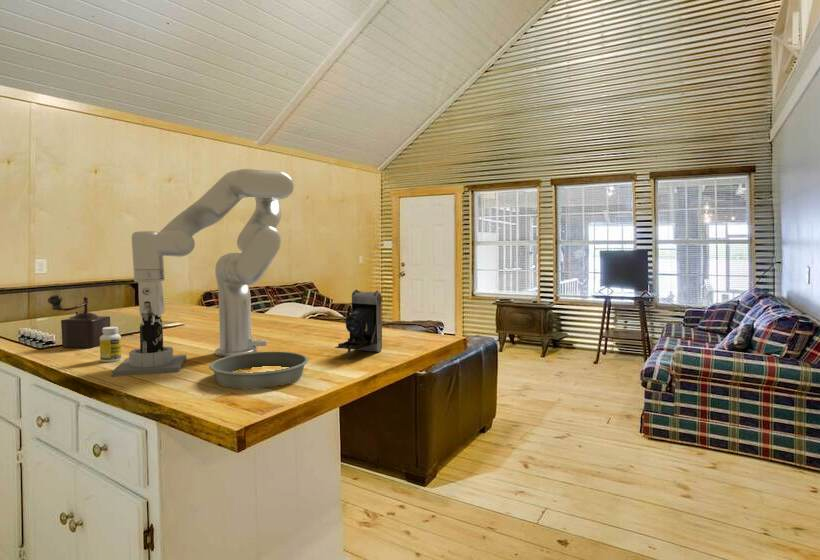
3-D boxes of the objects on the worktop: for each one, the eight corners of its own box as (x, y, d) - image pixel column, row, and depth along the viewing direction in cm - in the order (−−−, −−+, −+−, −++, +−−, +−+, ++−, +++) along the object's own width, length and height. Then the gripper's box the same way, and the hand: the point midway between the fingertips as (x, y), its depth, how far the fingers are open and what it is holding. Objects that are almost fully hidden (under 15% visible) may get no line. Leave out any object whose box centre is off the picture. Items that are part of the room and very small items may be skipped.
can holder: (186, 358, 150) (186, 343, 150) (179, 371, 135) (178, 354, 134) (126, 362, 145) (126, 346, 145) (112, 376, 130) (111, 358, 130)
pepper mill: (82, 341, 175) (80, 291, 174) (112, 342, 174) (110, 291, 173) (46, 351, 160) (43, 295, 158) (79, 352, 159) (76, 296, 157)
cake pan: (295, 362, 146) (295, 347, 146) (320, 383, 124) (320, 365, 124) (205, 372, 135) (204, 356, 135) (215, 397, 113) (214, 377, 113)
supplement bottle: (111, 362, 144) (110, 329, 144) (96, 361, 145) (94, 328, 145) (126, 358, 150) (124, 326, 149) (110, 357, 151) (109, 325, 150)
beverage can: (164, 358, 144) (163, 317, 143) (162, 363, 139) (161, 320, 138) (142, 360, 142) (140, 319, 141) (139, 365, 137) (138, 321, 136)
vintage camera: (332, 359, 151) (331, 294, 148) (356, 348, 165) (356, 288, 163) (361, 363, 147) (360, 296, 145) (383, 351, 161) (383, 290, 159)
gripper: (158, 277, 131) (162, 341, 133) (169, 273, 148) (172, 330, 149) (126, 278, 129) (130, 343, 130) (140, 274, 145) (144, 331, 147)
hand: (152, 336), depth 140 cm, fingers open, 9 cm apart
